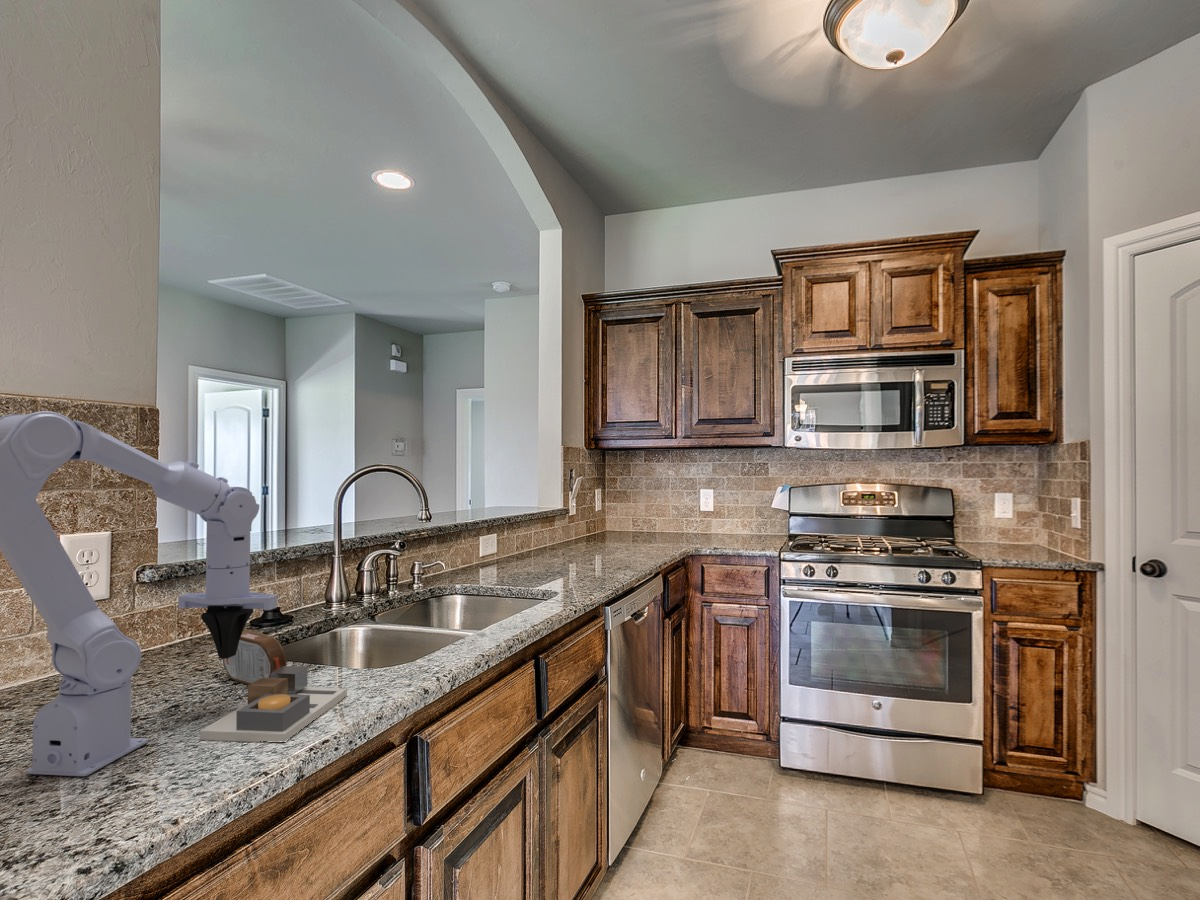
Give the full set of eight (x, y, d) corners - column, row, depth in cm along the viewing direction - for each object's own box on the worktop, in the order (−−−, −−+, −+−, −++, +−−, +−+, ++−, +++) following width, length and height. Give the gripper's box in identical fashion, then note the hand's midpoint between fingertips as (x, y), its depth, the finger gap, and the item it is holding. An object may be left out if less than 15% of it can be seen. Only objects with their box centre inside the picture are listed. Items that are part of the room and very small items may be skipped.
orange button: (279, 724, 86) (279, 705, 86) (251, 723, 87) (251, 704, 87) (296, 712, 90) (296, 694, 90) (269, 711, 91) (269, 694, 91)
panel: (284, 743, 84) (284, 715, 84) (199, 739, 85) (200, 712, 85) (346, 696, 101) (347, 672, 101) (275, 693, 102) (275, 670, 102)
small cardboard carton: (273, 707, 92) (273, 686, 92) (247, 706, 93) (247, 685, 93) (287, 698, 96) (287, 678, 96) (262, 697, 96) (262, 677, 96)
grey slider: (294, 693, 98) (295, 673, 98) (270, 692, 98) (270, 673, 98) (307, 685, 101) (307, 666, 101) (283, 684, 102) (283, 666, 102)
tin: (288, 688, 105) (288, 637, 105) (269, 694, 102) (270, 642, 102) (236, 673, 112) (236, 625, 113) (218, 678, 110) (218, 629, 110)
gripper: (289, 562, 99) (288, 649, 98) (202, 561, 100) (201, 647, 100) (261, 569, 92) (260, 664, 91) (167, 568, 93) (166, 661, 93)
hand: (227, 656), depth 95 cm, fingers closed
